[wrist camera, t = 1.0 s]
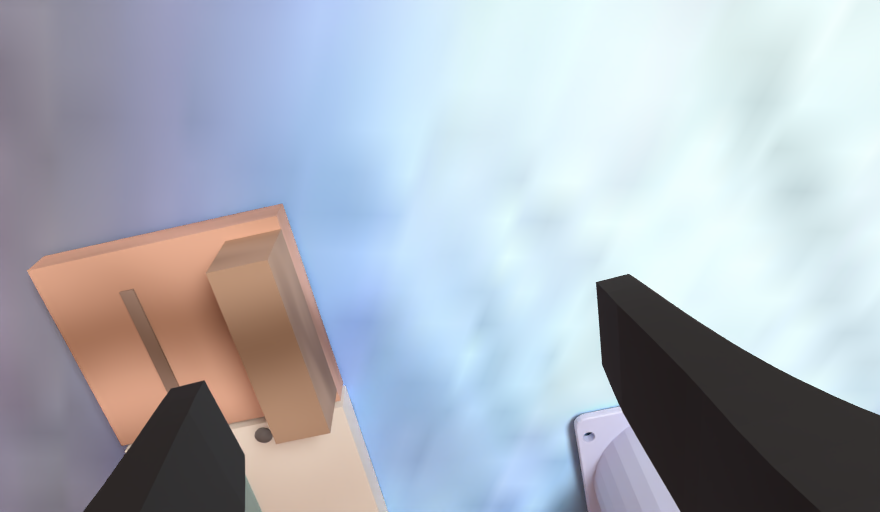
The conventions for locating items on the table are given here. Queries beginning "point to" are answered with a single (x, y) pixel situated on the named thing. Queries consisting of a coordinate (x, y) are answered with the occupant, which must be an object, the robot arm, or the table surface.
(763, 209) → the table surface
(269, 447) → the stove control panel
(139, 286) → the stub
